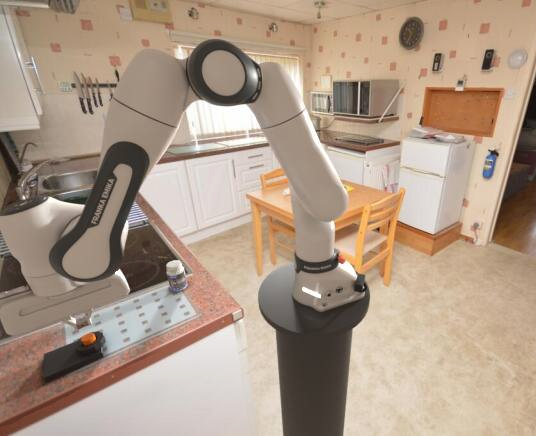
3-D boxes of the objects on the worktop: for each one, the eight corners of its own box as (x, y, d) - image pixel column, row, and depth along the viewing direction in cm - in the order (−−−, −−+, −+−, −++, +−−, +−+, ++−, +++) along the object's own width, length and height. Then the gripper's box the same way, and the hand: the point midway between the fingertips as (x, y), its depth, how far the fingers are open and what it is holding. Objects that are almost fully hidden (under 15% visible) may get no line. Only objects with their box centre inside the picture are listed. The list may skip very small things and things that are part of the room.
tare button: (95, 335, 68) (93, 330, 67) (96, 342, 66) (94, 337, 66) (82, 340, 67) (80, 336, 66) (83, 347, 65) (81, 342, 64)
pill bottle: (172, 294, 85) (166, 270, 82) (169, 285, 89) (163, 262, 85) (189, 288, 88) (184, 265, 84) (185, 279, 91) (180, 257, 88)
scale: (105, 333, 72) (101, 325, 70) (109, 354, 67) (105, 345, 65) (46, 358, 65) (41, 348, 64) (45, 382, 60) (39, 373, 59)
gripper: (-20, 307, 50) (17, 361, 56) (120, 264, 62) (138, 313, 68) (-14, 288, 54) (20, 340, 61) (116, 251, 66) (133, 298, 72)
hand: (83, 325), depth 64 cm, fingers closed
